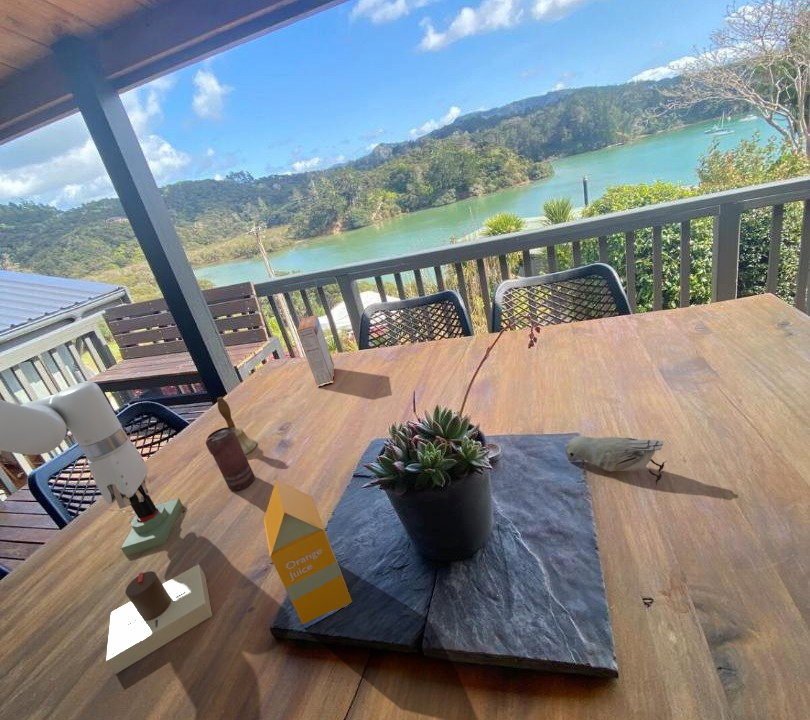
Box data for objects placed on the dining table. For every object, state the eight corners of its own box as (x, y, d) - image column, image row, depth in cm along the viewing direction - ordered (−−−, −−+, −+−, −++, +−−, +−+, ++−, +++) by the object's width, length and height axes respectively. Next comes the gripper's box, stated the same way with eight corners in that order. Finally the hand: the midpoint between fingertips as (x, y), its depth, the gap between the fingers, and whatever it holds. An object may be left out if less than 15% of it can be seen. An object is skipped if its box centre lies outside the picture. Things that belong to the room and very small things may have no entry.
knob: (171, 609, 68) (154, 583, 66) (141, 626, 67) (123, 600, 64) (170, 590, 72) (155, 564, 70) (142, 605, 70) (125, 580, 68)
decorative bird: (571, 453, 84) (568, 420, 81) (668, 469, 74) (667, 433, 71) (563, 470, 80) (559, 436, 77) (663, 490, 70) (662, 452, 68)
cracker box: (319, 372, 157) (300, 318, 149) (335, 368, 157) (317, 313, 149) (316, 388, 144) (295, 330, 136) (334, 384, 144) (314, 325, 136)
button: (156, 523, 91) (152, 517, 90) (139, 529, 91) (135, 522, 90) (162, 512, 94) (158, 506, 94) (145, 517, 94) (142, 511, 94)
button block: (165, 543, 88) (156, 529, 87) (125, 556, 88) (116, 541, 86) (183, 505, 99) (175, 491, 98) (148, 516, 99) (140, 502, 97)
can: (224, 488, 102) (199, 438, 97) (248, 472, 106) (225, 423, 101) (235, 496, 98) (210, 445, 93) (260, 479, 102) (237, 429, 96)
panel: (115, 674, 63) (104, 660, 62) (119, 624, 72) (110, 611, 71) (212, 616, 69) (204, 602, 68) (205, 575, 77) (198, 563, 76)
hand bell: (235, 442, 122) (213, 392, 116) (262, 438, 120) (240, 388, 114) (220, 460, 114) (195, 408, 109) (248, 457, 113) (224, 404, 107)
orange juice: (304, 630, 63) (254, 526, 55) (294, 586, 70) (249, 489, 63) (354, 603, 65) (312, 498, 57) (339, 563, 73) (300, 466, 65)
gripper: (104, 429, 92) (144, 497, 99) (64, 470, 78) (114, 545, 85) (139, 419, 92) (176, 487, 99) (106, 457, 79) (152, 533, 85)
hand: (148, 513), depth 92 cm, fingers closed
